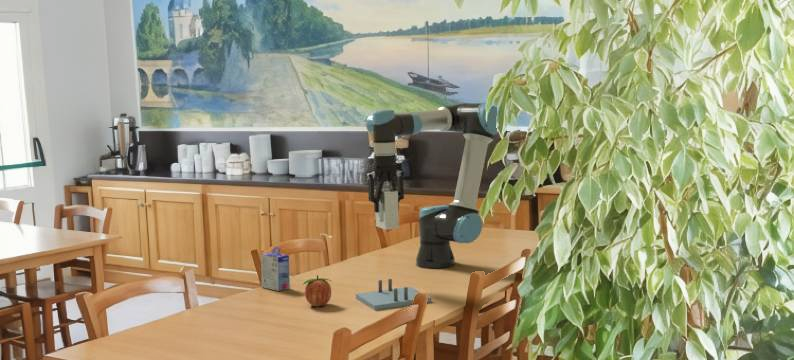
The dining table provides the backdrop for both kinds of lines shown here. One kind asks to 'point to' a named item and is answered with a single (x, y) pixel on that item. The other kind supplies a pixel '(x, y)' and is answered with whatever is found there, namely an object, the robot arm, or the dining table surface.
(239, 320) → the dining table surface
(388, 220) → the grey tall block
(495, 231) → the dining table surface
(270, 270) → the ink cartridge box
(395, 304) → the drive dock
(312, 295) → the fruit
